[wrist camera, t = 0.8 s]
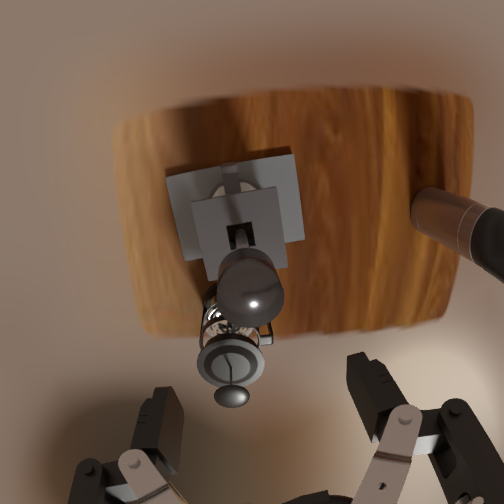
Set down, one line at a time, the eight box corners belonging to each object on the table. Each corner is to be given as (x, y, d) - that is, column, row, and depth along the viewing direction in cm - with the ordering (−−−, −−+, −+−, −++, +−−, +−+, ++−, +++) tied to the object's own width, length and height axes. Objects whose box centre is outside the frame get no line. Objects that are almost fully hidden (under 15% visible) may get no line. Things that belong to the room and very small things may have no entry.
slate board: (292, 153, 45) (293, 154, 44) (303, 237, 50) (304, 239, 49) (166, 176, 45) (165, 177, 44) (185, 258, 50) (184, 261, 49)
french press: (202, 327, 55) (193, 423, 33) (196, 282, 52) (179, 372, 30) (265, 323, 56) (285, 417, 34) (264, 277, 52) (287, 366, 31)
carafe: (259, 155, 44) (273, 160, 30) (271, 231, 48) (288, 267, 34) (198, 166, 44) (184, 176, 30) (213, 242, 48) (207, 282, 34)
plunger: (257, 211, 33) (279, 262, 19) (263, 248, 34) (287, 321, 20) (217, 218, 33) (209, 275, 19) (225, 255, 34) (224, 332, 20)
